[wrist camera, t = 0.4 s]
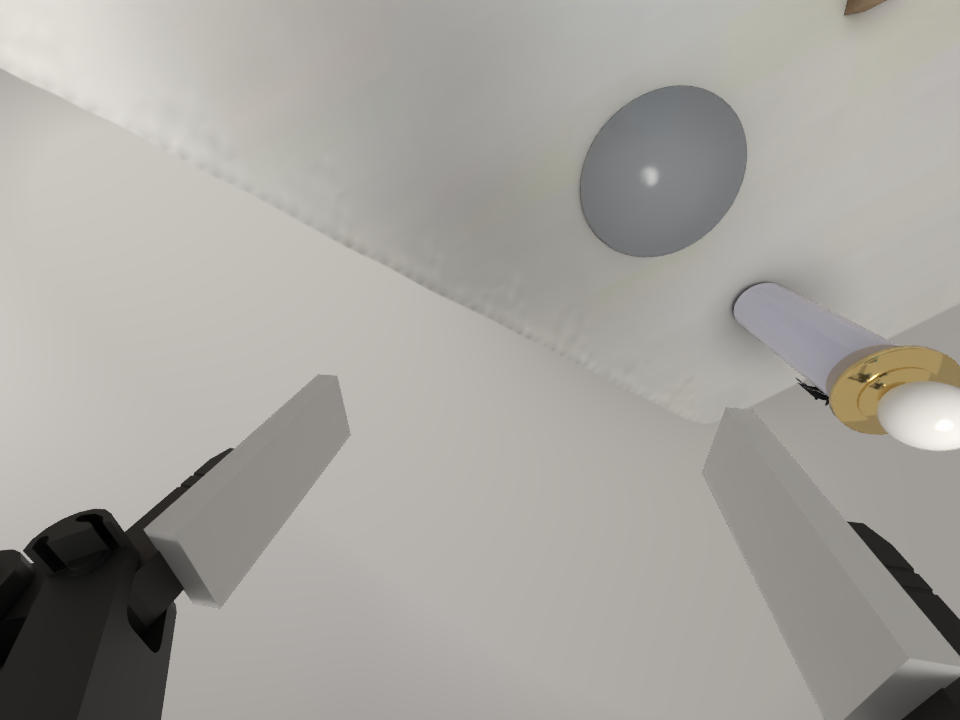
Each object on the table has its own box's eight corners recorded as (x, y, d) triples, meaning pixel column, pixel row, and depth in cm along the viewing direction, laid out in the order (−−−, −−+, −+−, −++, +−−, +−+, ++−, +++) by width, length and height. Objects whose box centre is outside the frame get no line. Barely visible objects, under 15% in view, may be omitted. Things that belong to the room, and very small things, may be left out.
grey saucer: (580, 103, 30) (581, 101, 29) (758, 72, 27) (763, 70, 27) (580, 260, 36) (580, 262, 35) (726, 248, 33) (730, 250, 32)
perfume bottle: (719, 285, 35) (889, 403, 17) (791, 265, 33) (1060, 373, 16) (726, 338, 37) (883, 489, 19) (793, 321, 35) (1033, 472, 18)
